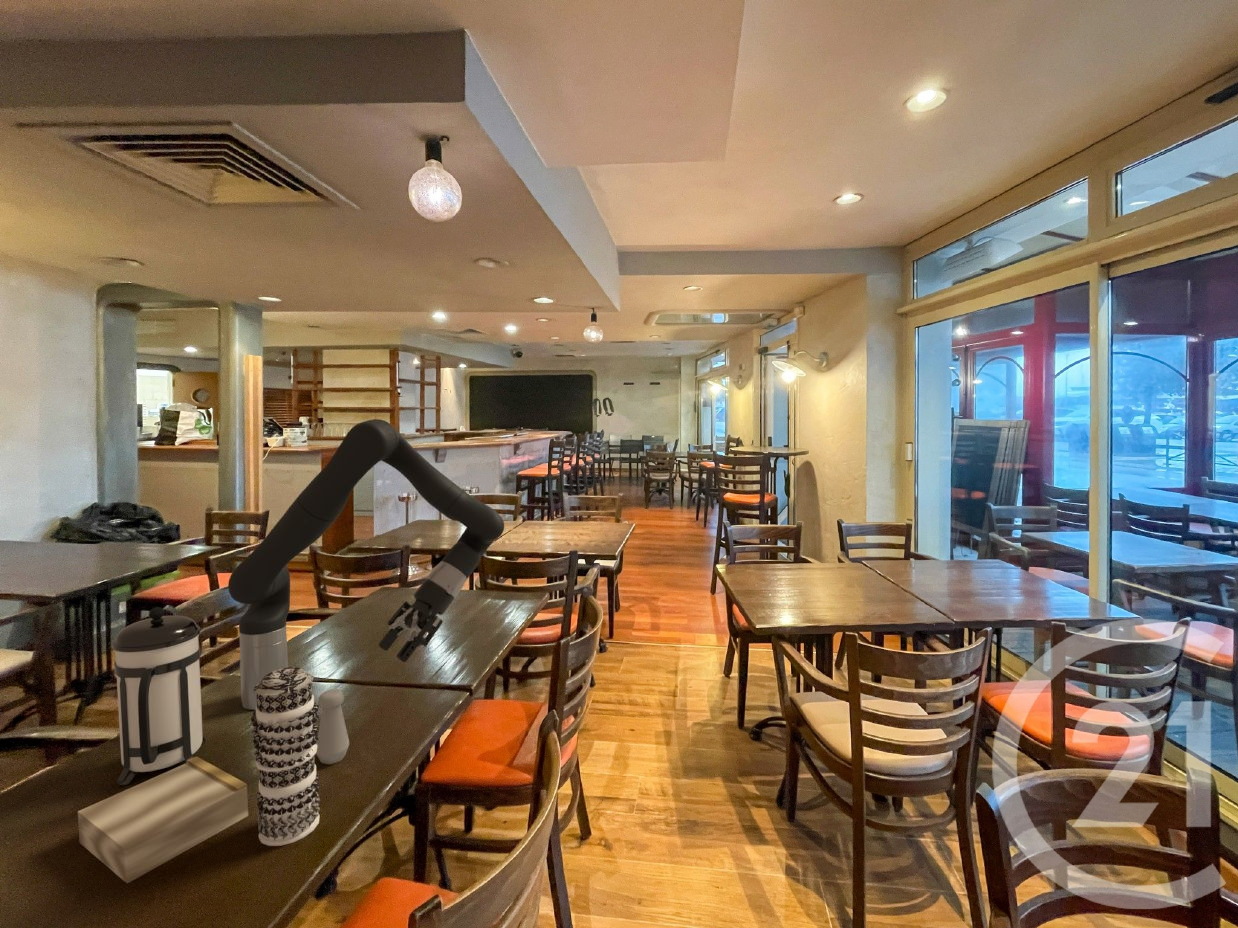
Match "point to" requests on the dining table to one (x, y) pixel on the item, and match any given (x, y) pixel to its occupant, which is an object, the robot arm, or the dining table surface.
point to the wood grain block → (162, 817)
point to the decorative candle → (286, 756)
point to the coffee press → (158, 693)
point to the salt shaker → (332, 728)
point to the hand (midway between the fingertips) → (391, 653)
